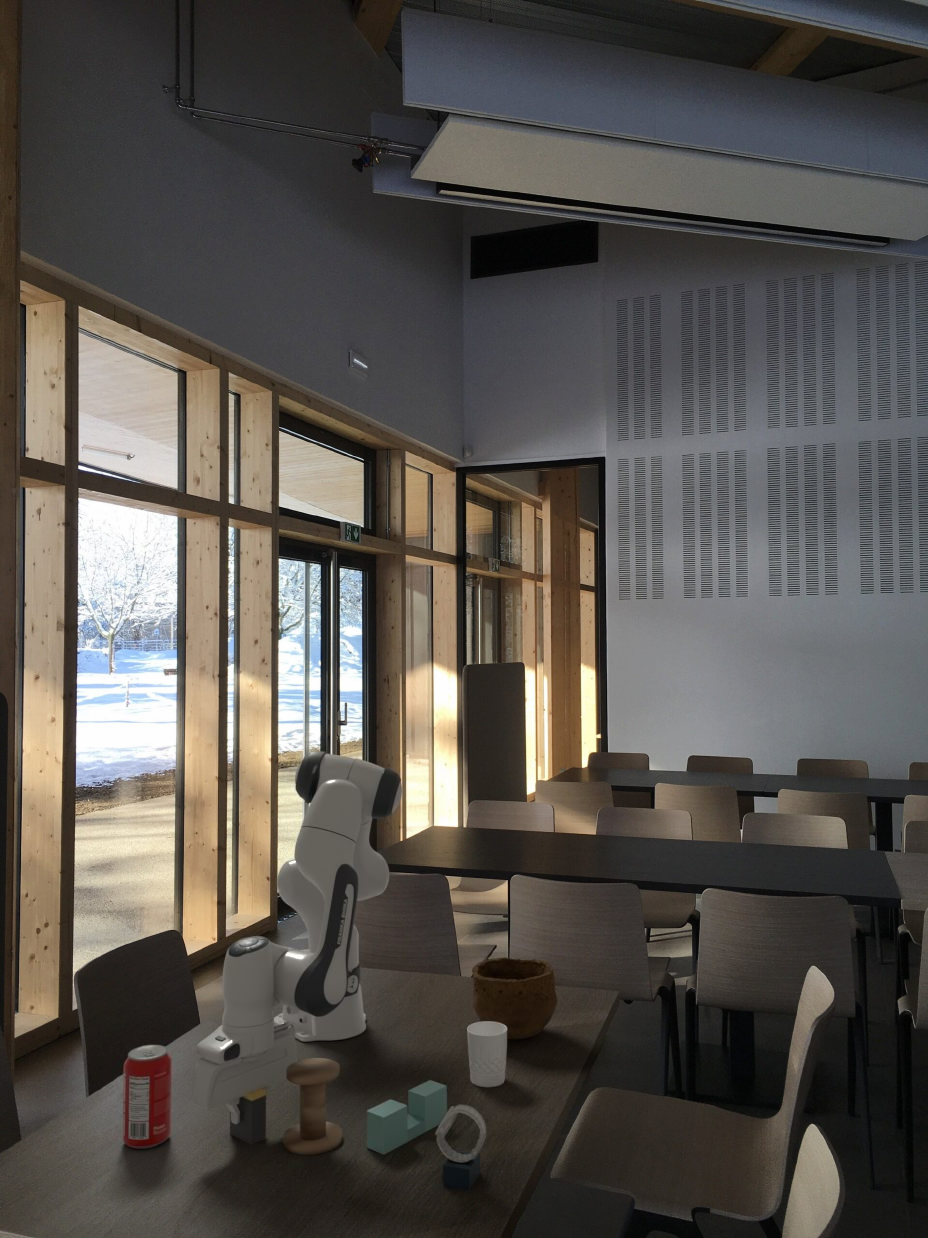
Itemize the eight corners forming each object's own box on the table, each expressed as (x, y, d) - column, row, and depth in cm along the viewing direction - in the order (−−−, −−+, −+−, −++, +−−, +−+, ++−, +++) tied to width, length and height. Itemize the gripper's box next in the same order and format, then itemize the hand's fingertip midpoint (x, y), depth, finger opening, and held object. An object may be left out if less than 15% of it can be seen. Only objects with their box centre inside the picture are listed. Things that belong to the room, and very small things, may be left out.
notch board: (366, 1147, 163) (366, 1111, 163) (430, 1114, 175) (429, 1080, 176) (383, 1155, 161) (383, 1117, 161) (446, 1120, 173) (446, 1086, 173)
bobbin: (270, 1142, 165) (271, 1070, 166) (315, 1121, 173) (315, 1052, 174) (310, 1161, 159) (310, 1085, 159) (354, 1138, 166) (354, 1066, 167)
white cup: (504, 1090, 185) (503, 1037, 186) (463, 1087, 187) (463, 1034, 187) (510, 1074, 193) (510, 1022, 194) (471, 1071, 194) (471, 1020, 195)
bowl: (458, 1028, 218) (457, 961, 219) (532, 1016, 225) (531, 951, 226) (493, 1058, 201) (492, 985, 202) (572, 1044, 208) (571, 973, 209)
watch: (442, 1167, 156) (442, 1097, 157) (490, 1175, 154) (489, 1103, 155) (430, 1184, 151) (430, 1112, 152) (480, 1192, 149) (479, 1119, 149)
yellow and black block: (229, 1134, 168) (230, 1087, 169) (244, 1128, 171) (244, 1081, 171) (251, 1144, 164) (251, 1096, 165) (265, 1138, 167) (265, 1090, 167)
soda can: (126, 1156, 161) (127, 1064, 162) (119, 1137, 168) (120, 1048, 169) (174, 1146, 164) (175, 1055, 165) (166, 1127, 171) (167, 1040, 172)
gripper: (283, 1015, 179) (283, 1092, 178) (187, 1048, 163) (187, 1133, 162) (306, 1023, 175) (306, 1102, 174) (210, 1058, 159) (209, 1145, 158)
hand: (247, 1117), depth 168 cm, fingers closed on yellow and black block, 3 cm apart
